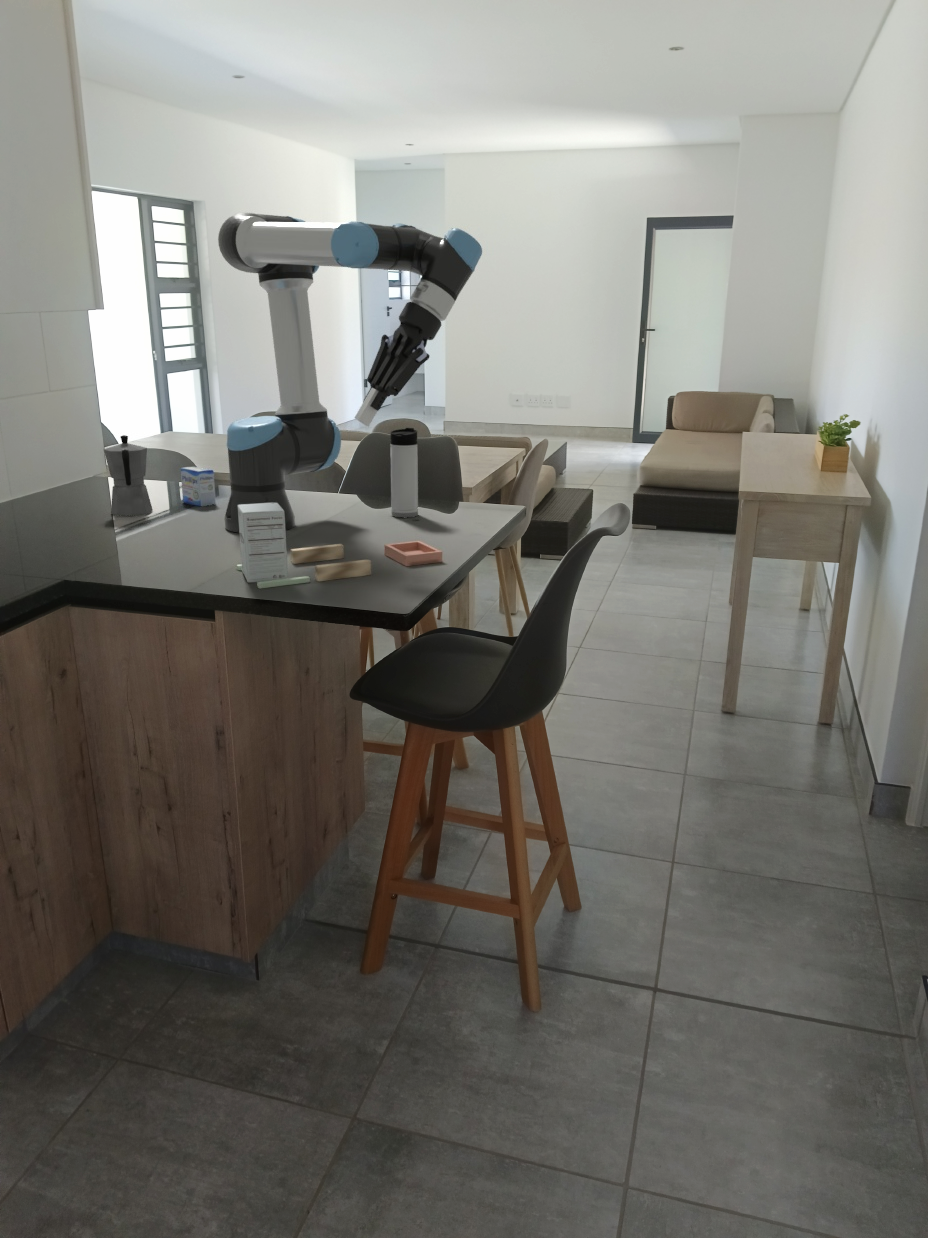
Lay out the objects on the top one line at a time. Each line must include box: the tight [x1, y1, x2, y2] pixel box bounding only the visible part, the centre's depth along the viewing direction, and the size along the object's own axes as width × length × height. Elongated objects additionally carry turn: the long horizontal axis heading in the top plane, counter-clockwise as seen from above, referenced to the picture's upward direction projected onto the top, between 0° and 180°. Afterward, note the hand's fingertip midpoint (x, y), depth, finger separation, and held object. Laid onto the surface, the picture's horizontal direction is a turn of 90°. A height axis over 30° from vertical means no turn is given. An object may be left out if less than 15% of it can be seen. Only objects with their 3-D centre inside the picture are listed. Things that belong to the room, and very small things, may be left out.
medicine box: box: [180, 466, 217, 507], centre depth 227 cm, size 8×4×9 cm, turn 49°
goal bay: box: [235, 563, 311, 589], centre depth 165 cm, size 9×14×1 cm, turn 29°
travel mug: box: [389, 427, 419, 519], centre depth 214 cm, size 6×7×20 cm
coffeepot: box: [103, 434, 153, 517], centre depth 213 cm, size 15×9×18 cm, turn 19°
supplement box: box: [238, 503, 289, 584], centre depth 163 cm, size 7×7×13 cm
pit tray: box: [383, 540, 443, 567], centre depth 178 cm, size 8×10×2 cm
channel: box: [290, 543, 372, 582], centre depth 170 cm, size 10×15×2 cm, turn 29°
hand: (361, 422), depth 172 cm, fingers closed
